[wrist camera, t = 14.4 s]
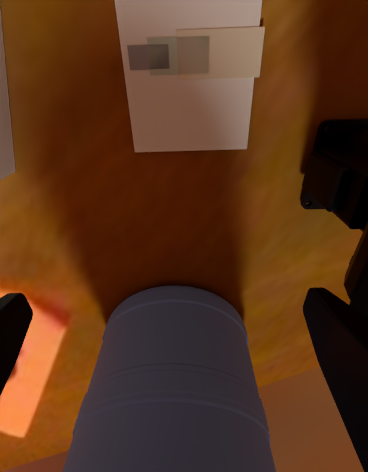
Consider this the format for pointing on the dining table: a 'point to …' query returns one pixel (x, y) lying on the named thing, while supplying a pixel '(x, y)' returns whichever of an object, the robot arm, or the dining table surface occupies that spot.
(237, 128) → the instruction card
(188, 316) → the water jug
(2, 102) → the tower base
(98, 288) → the dining table surface
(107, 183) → the dining table surface
